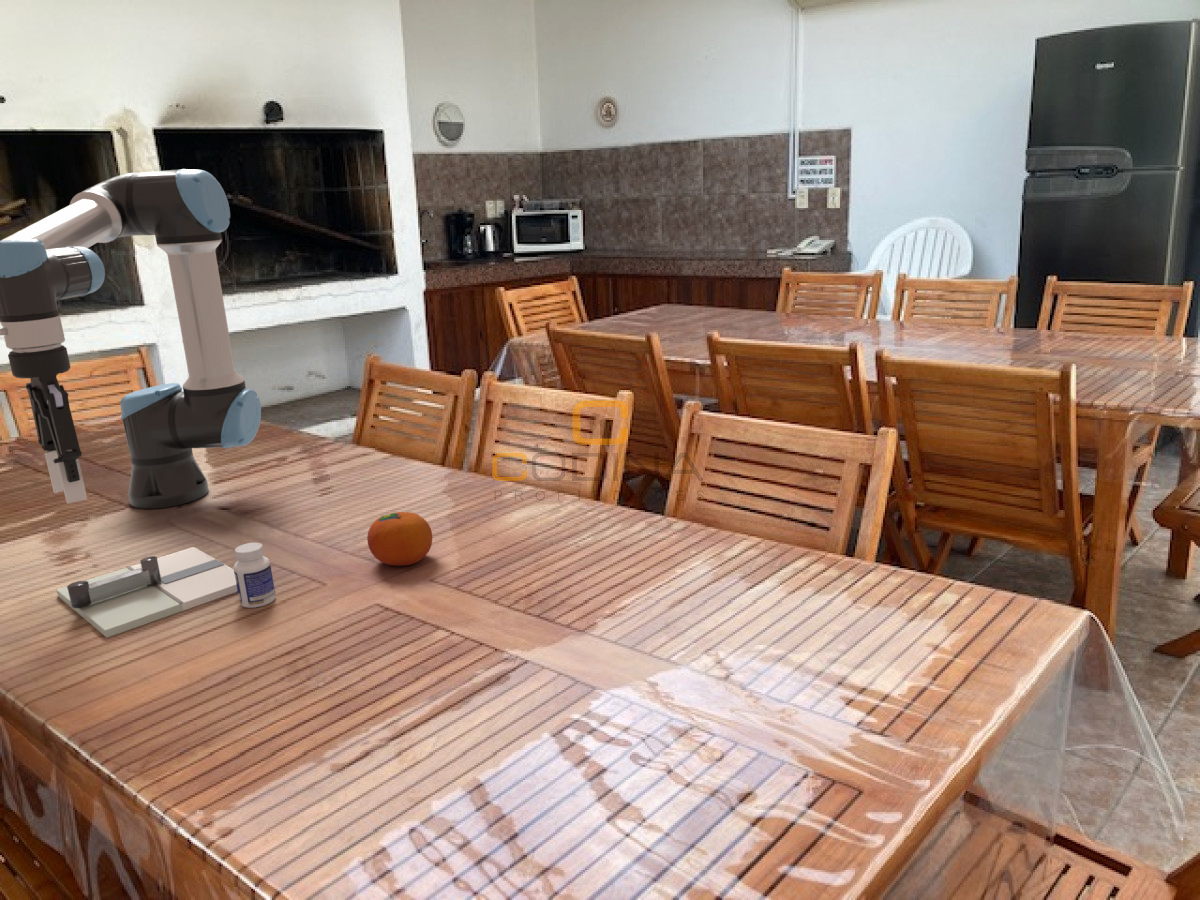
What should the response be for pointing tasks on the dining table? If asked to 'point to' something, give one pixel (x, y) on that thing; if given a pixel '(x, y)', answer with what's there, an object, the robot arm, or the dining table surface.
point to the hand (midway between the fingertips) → (70, 495)
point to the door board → (159, 592)
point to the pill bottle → (253, 576)
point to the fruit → (400, 538)
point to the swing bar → (115, 584)
